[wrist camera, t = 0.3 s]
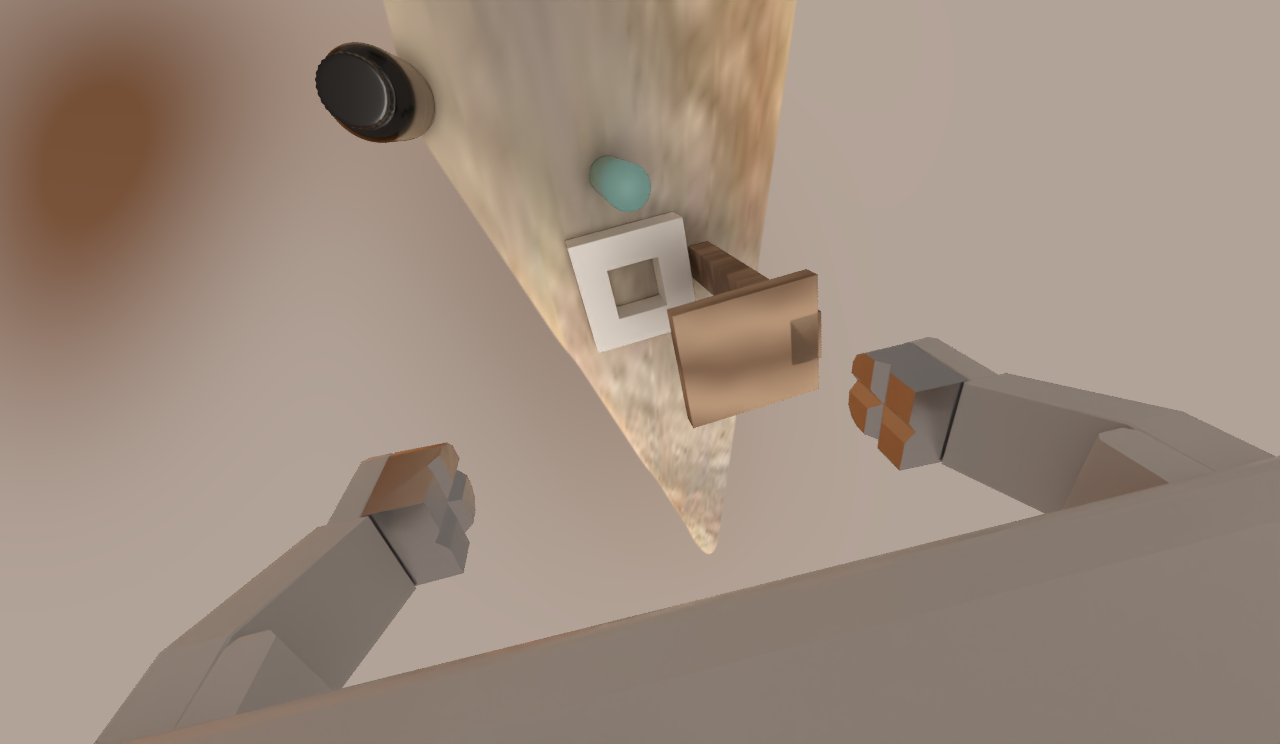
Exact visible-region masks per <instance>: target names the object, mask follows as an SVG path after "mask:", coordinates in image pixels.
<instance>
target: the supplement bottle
mask: <svg viewBox="0 0 1280 744" xmlns="http://www.w3.org/2000/svg"><path fill="white" fill-rule="evenodd" d="M315 81H316V88H317V90H318V95H319V97H320V98H321V102H322V103H323V104H324V105H325V108H326V109H327V110H328V111H329V112H330V113H331V115H332V116H333V117H334V118H335V119H336V120H337V122H339V124H340V125H341V126H343V127H344V128H345V129H346V130H348V131H349V132H350V133H352V134H353V135H355V136H357V137H359V138H361V139H364V140H367V141H371V142H378V143H387V142H397V141H406V140H411V139H415V138H417V137H419V136H421V135H422V134H424V133H425V132H426V131H427V129H428V128H429V127H430V125H431V123H432V120H433V117H434V99H433V95H432V92H431V90H430V87H429V85H428V84H427V82H426V80H425V79H424V77H423V76H422V75H421V74H420V73H419V72H418V71H417V70H416V69H415V68H414V67H413V66H412V65H410V64H409V63H407V62H406V61H404V60H402V59H400V58H398V57H396V56H394V55H392V54H390V53H388V52H386V51H384V50H382V49H380V48H378V47H375V46H373V45H369V44H365V43H358V42H352V43H345V44H342V45H340V46H338V47H336V48H334V49H333V50H332V51H331V52H330V53H329V54H328V55H327V56H326V58H325V59H323V60H322V61H321V64H320V65H318V70H317V71H316V78H315Z"/></svg>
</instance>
